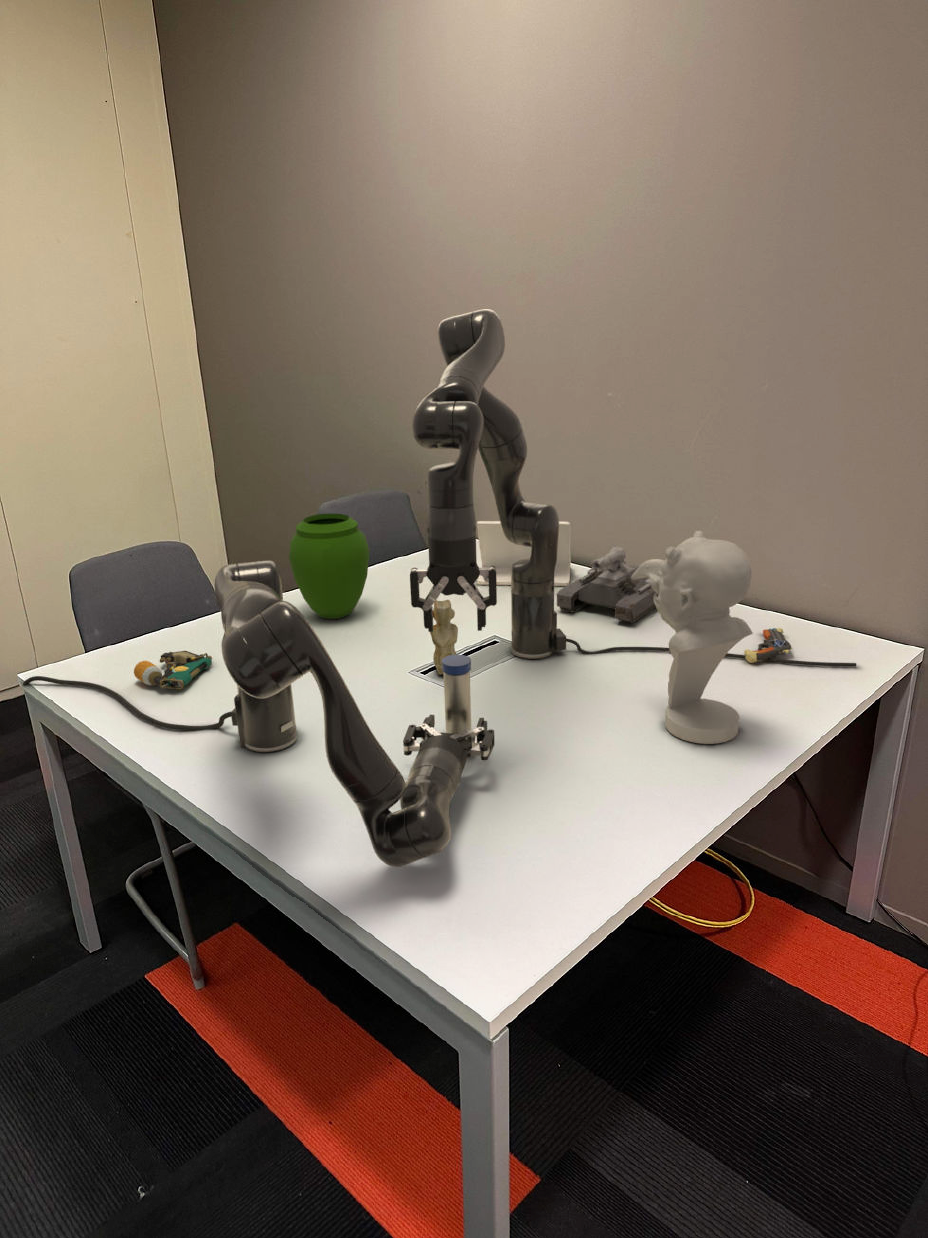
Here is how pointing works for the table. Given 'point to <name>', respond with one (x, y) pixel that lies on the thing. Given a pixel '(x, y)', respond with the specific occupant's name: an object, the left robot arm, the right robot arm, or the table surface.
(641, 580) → the toy
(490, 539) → the tablet stand
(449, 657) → the lid
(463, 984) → the table surface
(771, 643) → the toy gun
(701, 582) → the bust sculpture
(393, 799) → the left robot arm
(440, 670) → the sculpture
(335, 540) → the vase
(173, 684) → the spray gun
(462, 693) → the jar
